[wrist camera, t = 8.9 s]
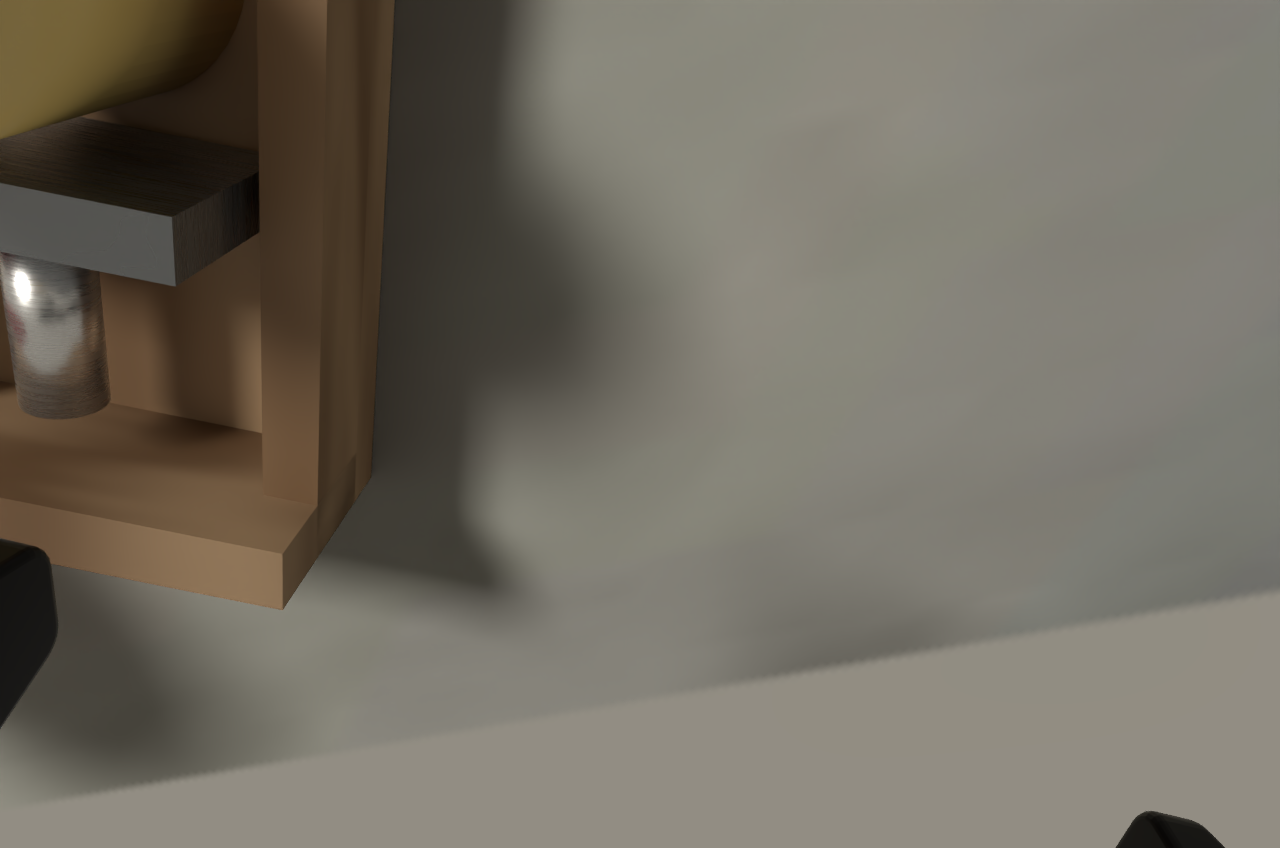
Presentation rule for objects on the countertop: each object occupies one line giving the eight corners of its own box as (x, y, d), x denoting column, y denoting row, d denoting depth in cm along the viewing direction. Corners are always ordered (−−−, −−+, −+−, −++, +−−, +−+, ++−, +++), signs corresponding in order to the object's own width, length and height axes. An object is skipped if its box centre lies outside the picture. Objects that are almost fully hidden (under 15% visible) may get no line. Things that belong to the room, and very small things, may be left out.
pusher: (286, 157, 16) (171, 217, 13) (286, 393, 18) (187, 495, 15) (-88, 82, 16) (-295, 124, 13) (-45, 327, 18) (-214, 415, 15)
